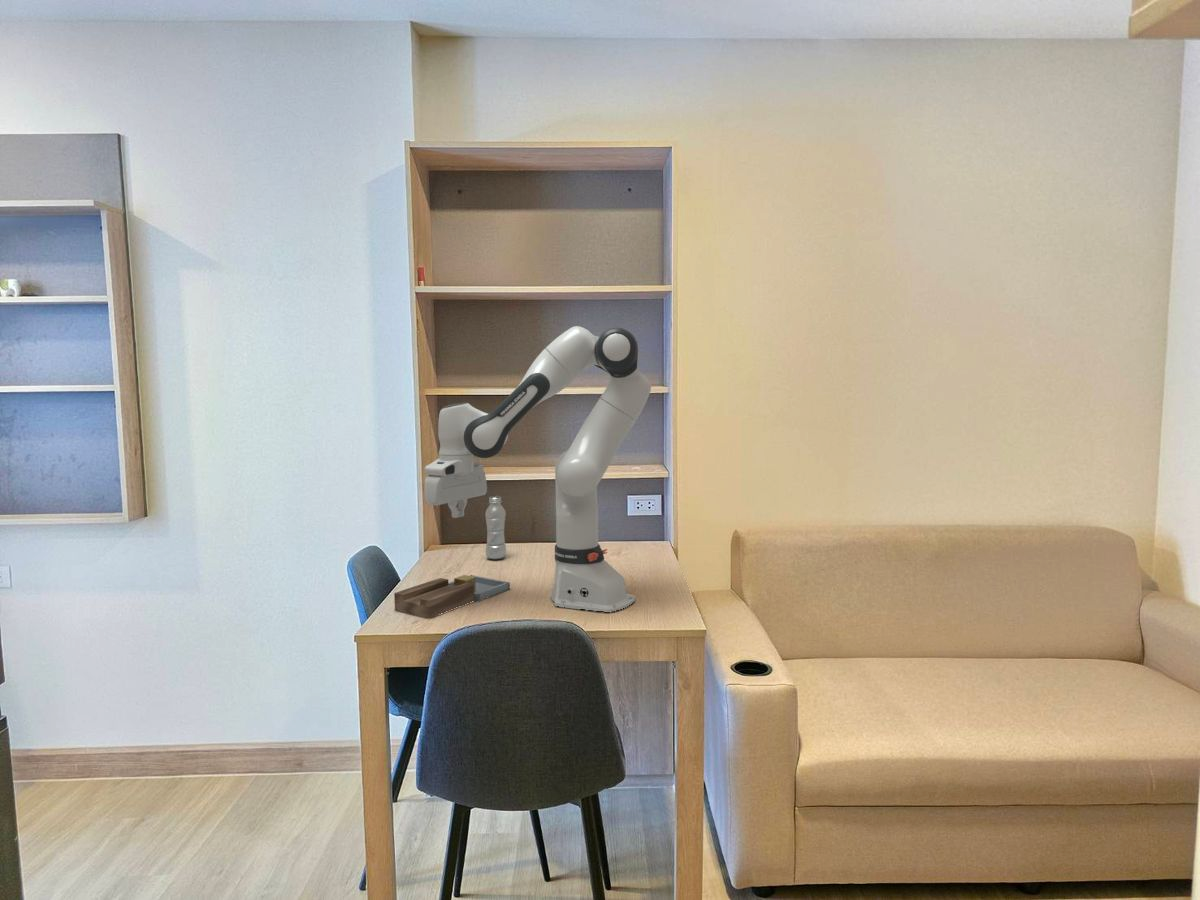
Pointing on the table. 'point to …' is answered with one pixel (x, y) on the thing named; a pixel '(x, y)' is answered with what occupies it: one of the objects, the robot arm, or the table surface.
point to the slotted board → (433, 598)
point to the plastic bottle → (495, 529)
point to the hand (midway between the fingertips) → (458, 516)
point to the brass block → (465, 581)
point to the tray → (487, 587)
